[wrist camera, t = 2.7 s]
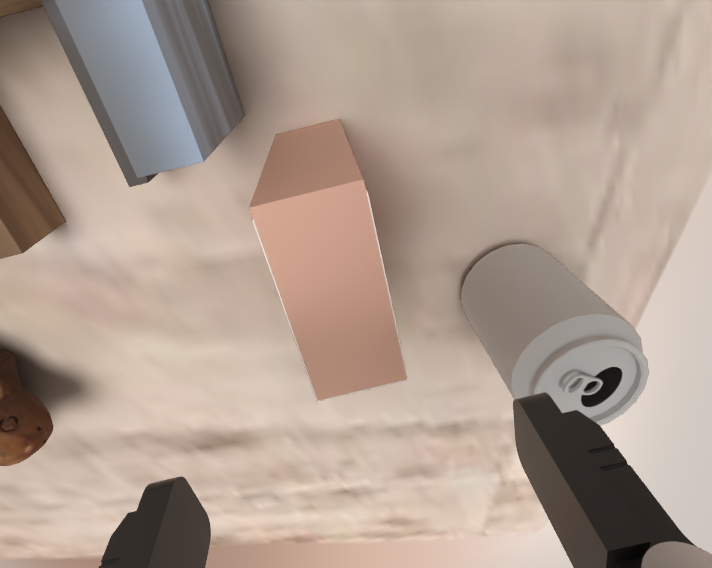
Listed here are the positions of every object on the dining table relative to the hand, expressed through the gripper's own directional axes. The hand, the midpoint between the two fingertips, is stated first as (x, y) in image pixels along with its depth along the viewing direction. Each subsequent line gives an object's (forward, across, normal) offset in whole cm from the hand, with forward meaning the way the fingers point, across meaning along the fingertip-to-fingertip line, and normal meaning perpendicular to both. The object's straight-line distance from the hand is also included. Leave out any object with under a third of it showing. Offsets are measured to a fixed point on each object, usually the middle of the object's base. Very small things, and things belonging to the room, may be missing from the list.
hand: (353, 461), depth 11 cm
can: (+22, -12, +10) cm, 27 cm away
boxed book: (+22, 0, 0) cm, 22 cm away
